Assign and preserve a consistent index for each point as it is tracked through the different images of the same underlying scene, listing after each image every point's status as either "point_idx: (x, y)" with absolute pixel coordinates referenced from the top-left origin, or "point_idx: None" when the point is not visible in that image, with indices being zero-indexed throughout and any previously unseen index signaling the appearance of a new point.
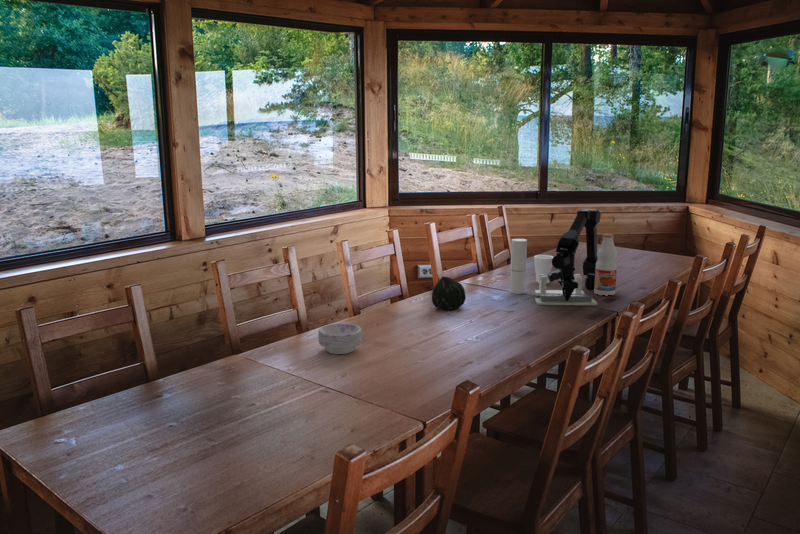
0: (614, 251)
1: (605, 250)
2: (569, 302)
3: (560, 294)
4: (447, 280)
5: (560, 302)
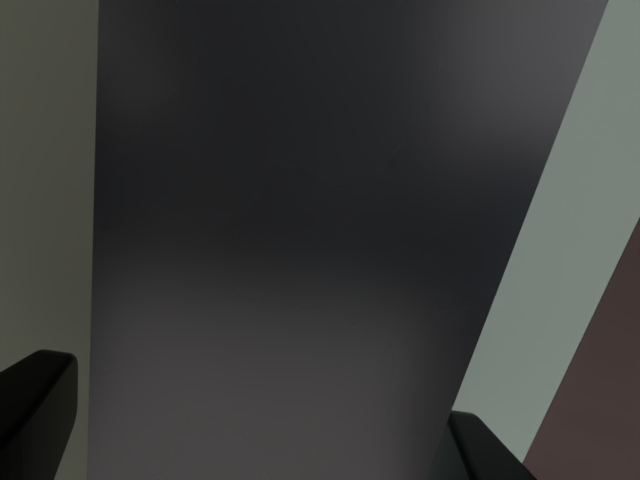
0: None
1: None
2: None
3: (448, 384)
4: None
5: (46, 124)
